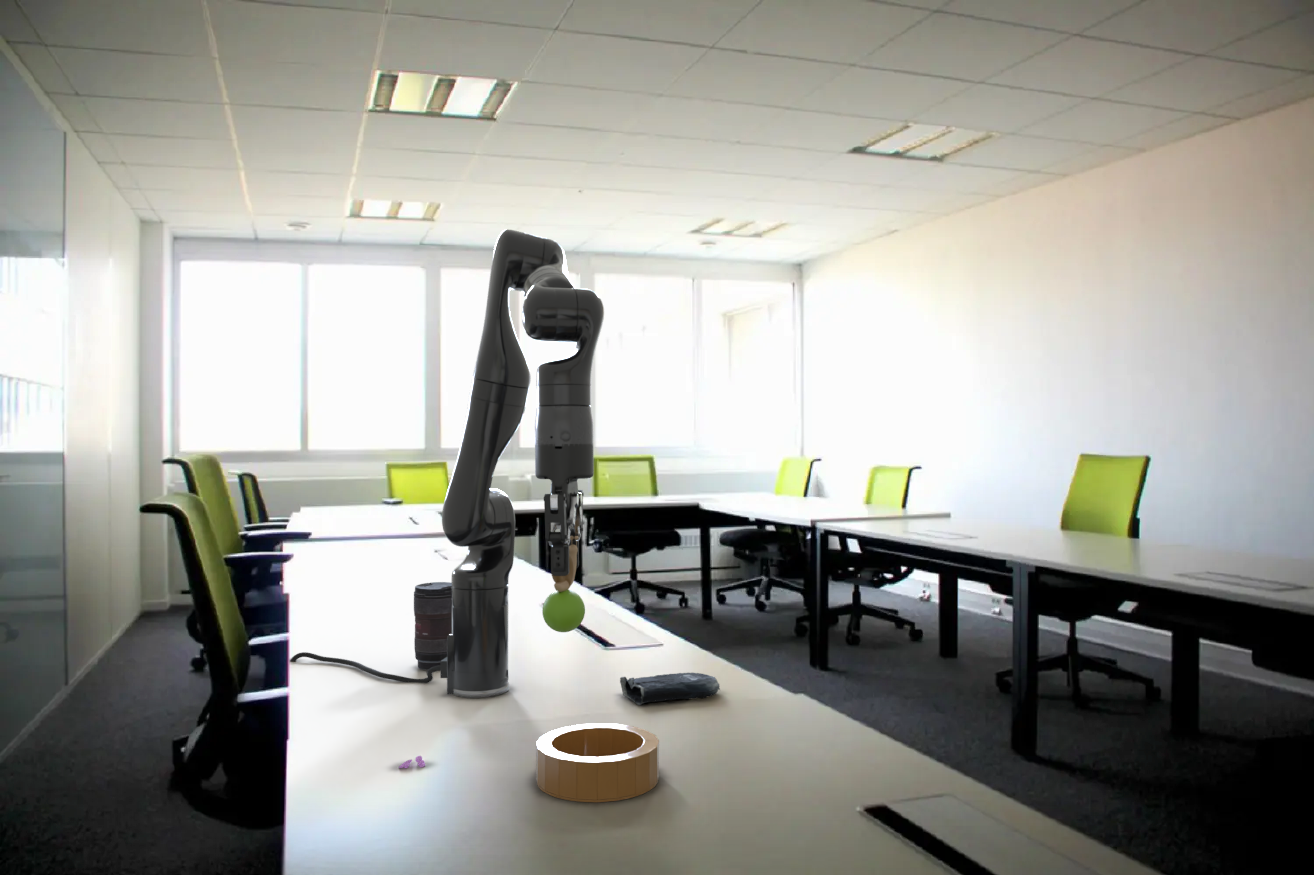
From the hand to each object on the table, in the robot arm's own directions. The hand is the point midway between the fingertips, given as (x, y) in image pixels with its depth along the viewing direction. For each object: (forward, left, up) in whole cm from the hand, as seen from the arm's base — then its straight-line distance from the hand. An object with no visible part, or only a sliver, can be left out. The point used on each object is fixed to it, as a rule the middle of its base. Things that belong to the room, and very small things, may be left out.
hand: (565, 571), depth 117 cm
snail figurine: (0, 0, -8) cm, 8 cm away
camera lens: (-34, +47, -24) cm, 63 cm away
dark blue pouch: (+11, +31, -24) cm, 41 cm away
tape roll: (+5, -7, -24) cm, 25 cm away
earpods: (-19, -5, -24) cm, 31 cm away
